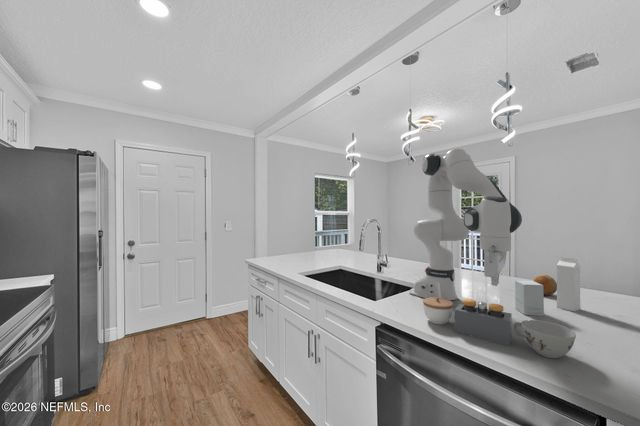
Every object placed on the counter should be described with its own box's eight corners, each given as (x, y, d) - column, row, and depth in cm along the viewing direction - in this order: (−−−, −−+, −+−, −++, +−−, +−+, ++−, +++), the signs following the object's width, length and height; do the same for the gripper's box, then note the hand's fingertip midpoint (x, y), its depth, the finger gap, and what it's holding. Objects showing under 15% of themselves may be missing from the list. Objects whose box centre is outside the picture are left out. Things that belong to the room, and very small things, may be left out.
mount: (454, 331, 96) (454, 309, 96) (460, 324, 102) (460, 303, 102) (509, 346, 85) (509, 321, 85) (511, 336, 91) (511, 313, 91)
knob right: (487, 333, 91) (487, 306, 91) (489, 328, 94) (489, 302, 94) (502, 336, 88) (502, 308, 88) (504, 332, 91) (504, 305, 91)
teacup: (582, 356, 79) (582, 329, 78) (567, 370, 72) (566, 341, 72) (523, 336, 91) (522, 313, 91) (505, 346, 85) (504, 321, 85)
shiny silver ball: (477, 311, 93) (476, 303, 93) (478, 309, 95) (478, 301, 95) (486, 313, 92) (486, 305, 91) (487, 311, 94) (487, 302, 94)
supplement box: (544, 316, 108) (544, 285, 108) (523, 315, 110) (523, 284, 110) (533, 309, 116) (533, 280, 116) (514, 308, 117) (514, 279, 117)
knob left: (461, 326, 96) (461, 301, 96) (464, 323, 99) (464, 298, 99) (475, 330, 93) (474, 303, 93) (477, 326, 96) (477, 300, 96)
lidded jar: (447, 329, 97) (447, 304, 97) (419, 321, 105) (418, 298, 105) (456, 320, 105) (456, 297, 105) (429, 313, 113) (429, 291, 113)
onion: (534, 290, 142) (534, 271, 142) (559, 294, 135) (558, 274, 135) (530, 294, 136) (530, 275, 136) (556, 299, 129) (556, 278, 129)
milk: (574, 311, 113) (574, 259, 112) (556, 307, 118) (556, 257, 118) (580, 309, 116) (580, 258, 115) (562, 304, 121) (562, 256, 121)
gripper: (502, 249, 81) (502, 294, 81) (509, 241, 96) (509, 279, 97) (478, 247, 85) (478, 290, 85) (489, 240, 100) (489, 276, 101)
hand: (495, 284), depth 91 cm, fingers closed
